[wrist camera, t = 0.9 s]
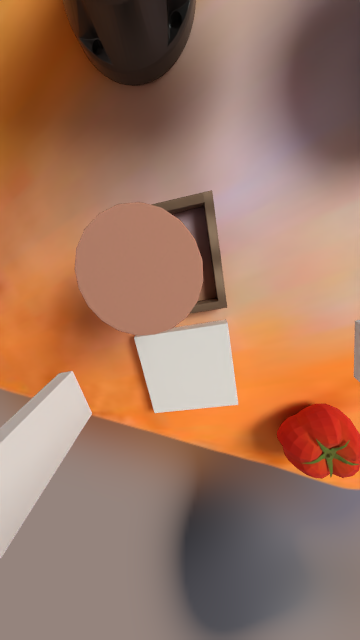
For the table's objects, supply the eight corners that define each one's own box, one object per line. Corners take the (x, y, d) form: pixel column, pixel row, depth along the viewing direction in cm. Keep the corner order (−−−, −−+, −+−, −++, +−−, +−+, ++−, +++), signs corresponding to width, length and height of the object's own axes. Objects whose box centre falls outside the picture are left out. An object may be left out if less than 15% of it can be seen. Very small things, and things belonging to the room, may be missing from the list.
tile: (137, 333, 38) (133, 337, 36) (226, 319, 36) (227, 323, 34) (156, 405, 43) (154, 413, 41) (236, 397, 41) (238, 404, 39)
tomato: (357, 401, 39) (401, 441, 31) (329, 451, 43) (361, 499, 35) (283, 385, 39) (307, 421, 31) (263, 436, 43) (278, 481, 35)
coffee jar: (145, 301, 36) (99, 345, 19) (126, 236, 33) (53, 222, 16) (206, 288, 35) (215, 324, 18) (193, 219, 32) (187, 182, 15)
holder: (105, 219, 33) (98, 217, 31) (210, 195, 31) (212, 190, 28) (132, 318, 38) (127, 323, 35) (225, 303, 35) (227, 307, 33)
